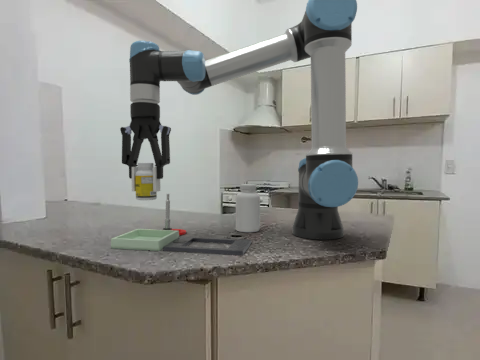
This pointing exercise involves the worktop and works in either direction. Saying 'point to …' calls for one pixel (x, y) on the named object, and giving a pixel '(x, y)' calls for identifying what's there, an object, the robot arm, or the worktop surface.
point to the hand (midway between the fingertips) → (146, 190)
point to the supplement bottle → (145, 182)
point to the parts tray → (144, 239)
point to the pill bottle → (247, 209)
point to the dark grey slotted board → (235, 249)
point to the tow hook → (167, 220)
